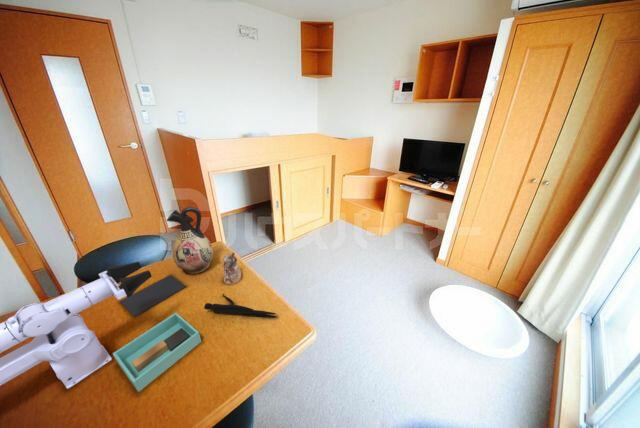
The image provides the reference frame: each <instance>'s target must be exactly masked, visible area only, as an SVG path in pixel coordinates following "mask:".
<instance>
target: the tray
mask: <svg viewBox="0 0 640 428" xmlns="http://www.w3.org/2000/svg"><path fill="white" fill-rule="evenodd" d="M186 287H187V286H186V285H185V284H184V283H182V282H181V281H180V280H178V279H177V278H176V277H174V276H173V275H171V274H170V275H167V276H165V277H163V278H162V279H160V280H158V281H156V282H154V283H152V284H150V285H148V286H147V287H144V288H142V289H141V290H139V291H137V292H134V293H133V294H132V296H130V297H127V296H126V297H124V298H122V299H120V303H121V305H122V306H123V307H124V308H125V309H126V310H127V311H128V312H129V313H130V314H131V315H132V316H133V317H134V318H137V316H139V315H142V314H143V313H144V312H146V311H148V310H149V309H151V308H153V307H155V306H157V305H158V304H160V303H162V302H163V301H165V300H167V299H169V298H170V297H171V296H174V295H175V294H176V293H179V292H180V291H182V290H184V289H185V288H186Z"/></svg>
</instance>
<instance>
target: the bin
mask: <svg viewBox="0 0 640 428" xmlns="http://www.w3.org/2000/svg"><path fill="white" fill-rule="evenodd" d="M181 328H182V329H184V330H185V331H186V332H187V333H188V334H189V335H190V338H188V339H187V340H186V341H184V342H183V343H182V344H180V345H179V346H178V347H176V348H175V349H174V350H172V351H170V350H168V351H166V352H165V353H164V354H162V355H161V356H160V357H158V358H157V359H156V360H154V361H153V362H152V363H150V364H149V365H148V366H146V367H145V368H144V369H142V370H141V371H140V372H137V370H136V369H135V368H134V366H133V364H132V361H134V360H135V359H137V358H138V357H140V356H141V355H142V354H144V353H145V352H147V351H148V350H149V349H151V348H152V347H154V346H155V345H157V344H158V343H159V342H161V341H162V340H163V341H164V340H165V339H167V338H168V337H169V336H171V335H172V334H174V333H175V332H177V331H178V330H179V329H181ZM201 342H202V338H201V335H200V332H199V331H198V330H197V329H196V328H194V327H193V325H191V324H190V323H189V322H188V321H186V319H184V318H183V317H182V316H180V314H178V312H174V313H172V314H171V315H169V316H168V317H167V318H165V319H163V320H162V321H161V322H159V323H157V324H156V325H154V326H152V327H151V328H150V329H148V330H146V331H145V332H144V333H142V334H140V335H139V336H138V337H136V338H134V339H133V340H131V341H129V342H128V343H127V344H125V345H123V346H121V347H120V348H119V349H117V350H116V351H114V352H112V355H113V357H114V359H115V361H116V363H117V365H118V366H119V367H120V369H121V370H122V371H123V373H124V375H126V377H127V378H128V380H129V381H130V383H131V384H132V385H133V387H134V388H135V390H136V391H137V392H138V393H139V392H141V391H142V390H143V389H144V388H145V387H146V386H148V385H149V384H151V383H152V382H153V381H154V380H155V379H157V378H158V377H159V376H161V375H162V374H163V373H164V372H166V371H167V370H168V369H170V367H172V366H173V365H174V364H176V362H178V361H179V360H180V359H182V358H183V357H184V356H186V355H187V354H188V353H189V352H190V351H191V350H193V349H194V348H195V347H197V346H198V345H199V344H200V343H201Z"/></svg>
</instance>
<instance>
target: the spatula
mask: <svg viewBox="0 0 640 428" xmlns="http://www.w3.org/2000/svg"><path fill="white" fill-rule="evenodd" d="M188 338H190V335H189V334H188V333H187V332H186V331H185V330H184V329H182V328H181V329H179V330H178V331H177V332H175V333H174V334H172V335H171V336H169V337H168V338H167V339H165V340H164V341H163V340H162V341H161V342H159V343H158V344H157V345H155V346H154V347H152V348H151V349H149V350H148V351H147V352H145V353H144V354H142V355H141V356H140V357H138V358H137V359H135V360H134V361H132V364H133V366H134V368H135V369H136V370H137V372H140V371H141V370H142V369H144V368H145V367H146V366H148V365H149V364H150V363H152V362H153V361H154V360H156V359H157V358H158V357H160V356H161V355H162V354H164V353H165V352H166V351H168V350H170V351H172V350H174V349H175V348H176V347H178V346H179V345H180V344H182V343H183V342H184V341H186V340H187V339H188Z"/></svg>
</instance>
